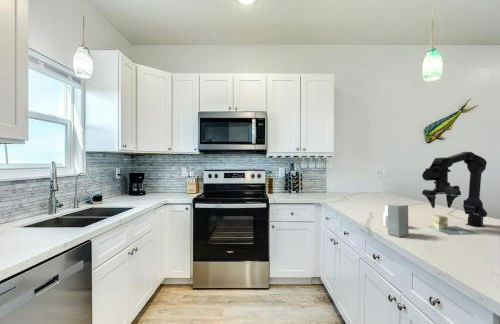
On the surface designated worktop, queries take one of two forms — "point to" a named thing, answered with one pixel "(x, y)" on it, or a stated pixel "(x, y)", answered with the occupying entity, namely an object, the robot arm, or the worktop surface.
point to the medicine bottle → (385, 217)
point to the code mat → (456, 231)
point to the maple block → (439, 222)
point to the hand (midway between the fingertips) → (441, 207)
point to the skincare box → (398, 220)
